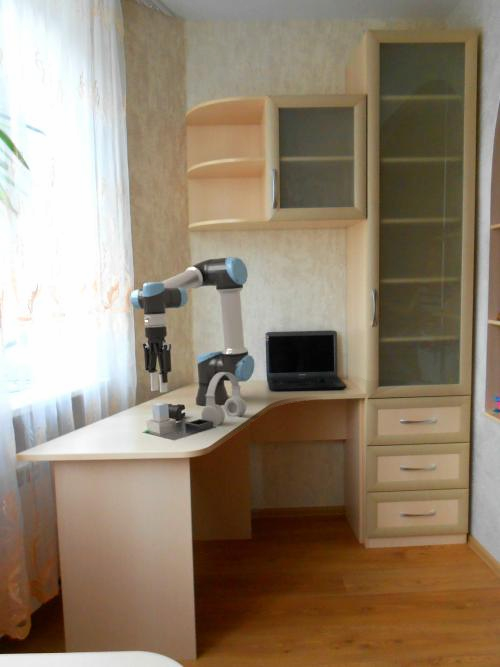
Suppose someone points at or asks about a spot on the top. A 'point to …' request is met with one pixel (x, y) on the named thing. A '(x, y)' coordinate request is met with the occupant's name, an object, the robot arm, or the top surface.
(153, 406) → the plug
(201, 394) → the robot arm
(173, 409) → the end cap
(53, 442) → the top surface
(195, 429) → the panel
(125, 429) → the top surface
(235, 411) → the headphones
